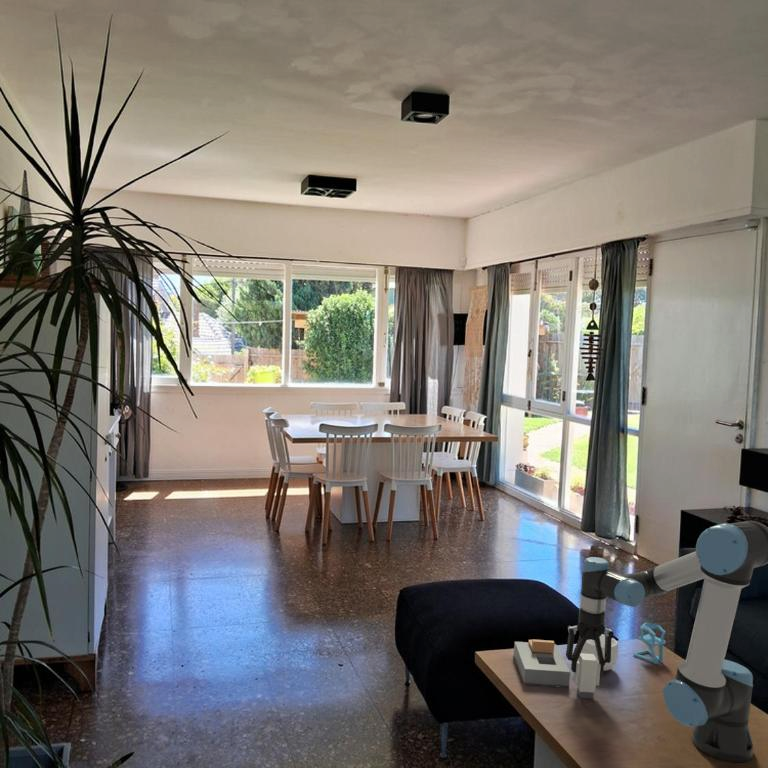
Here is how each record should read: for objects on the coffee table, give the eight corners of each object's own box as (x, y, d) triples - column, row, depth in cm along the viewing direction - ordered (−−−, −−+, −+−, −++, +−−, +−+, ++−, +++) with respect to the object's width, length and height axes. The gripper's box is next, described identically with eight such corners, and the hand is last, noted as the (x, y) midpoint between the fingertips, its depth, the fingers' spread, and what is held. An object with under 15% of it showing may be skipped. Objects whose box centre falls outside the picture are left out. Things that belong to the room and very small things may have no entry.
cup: (620, 666, 243) (623, 638, 242) (611, 680, 232) (614, 651, 232) (583, 656, 249) (586, 628, 248) (573, 669, 239) (575, 641, 238)
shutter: (553, 653, 238) (554, 642, 237) (532, 651, 238) (533, 641, 237) (549, 643, 245) (549, 633, 244) (528, 642, 245) (529, 632, 244)
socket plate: (568, 687, 226) (570, 671, 225) (523, 684, 226) (525, 668, 226) (554, 658, 246) (555, 644, 245) (513, 655, 246) (514, 641, 246)
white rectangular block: (594, 699, 220) (597, 660, 219) (579, 698, 220) (582, 659, 219) (590, 691, 224) (593, 654, 223) (575, 690, 224) (578, 653, 223)
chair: (652, 666, 245) (656, 631, 244) (632, 655, 252) (636, 622, 251) (667, 661, 249) (670, 628, 248) (647, 651, 256) (650, 618, 255)
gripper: (619, 606, 223) (612, 678, 225) (558, 602, 224) (552, 674, 225) (627, 615, 216) (620, 690, 218) (564, 611, 216) (558, 686, 218)
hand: (586, 682), depth 222 cm, fingers open, 6 cm apart
